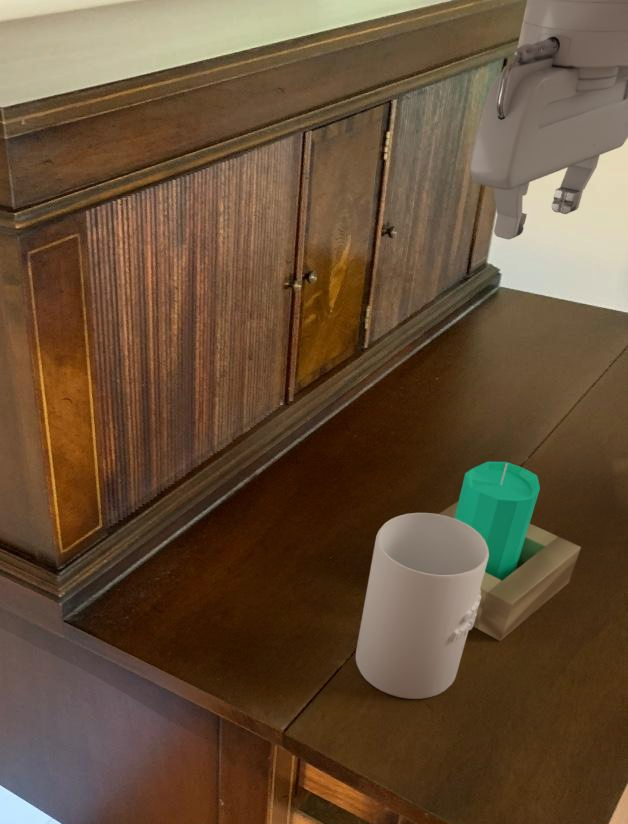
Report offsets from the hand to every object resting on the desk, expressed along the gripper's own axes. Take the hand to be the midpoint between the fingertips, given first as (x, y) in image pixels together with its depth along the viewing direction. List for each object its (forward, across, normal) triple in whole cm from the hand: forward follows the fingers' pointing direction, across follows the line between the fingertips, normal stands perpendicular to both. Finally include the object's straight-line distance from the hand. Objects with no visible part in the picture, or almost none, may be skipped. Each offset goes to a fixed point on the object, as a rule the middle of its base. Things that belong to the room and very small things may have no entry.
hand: (536, 223), depth 77 cm
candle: (+26, -13, -8) cm, 31 cm away
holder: (+26, -13, -9) cm, 31 cm away
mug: (+26, -25, -10) cm, 38 cm away
